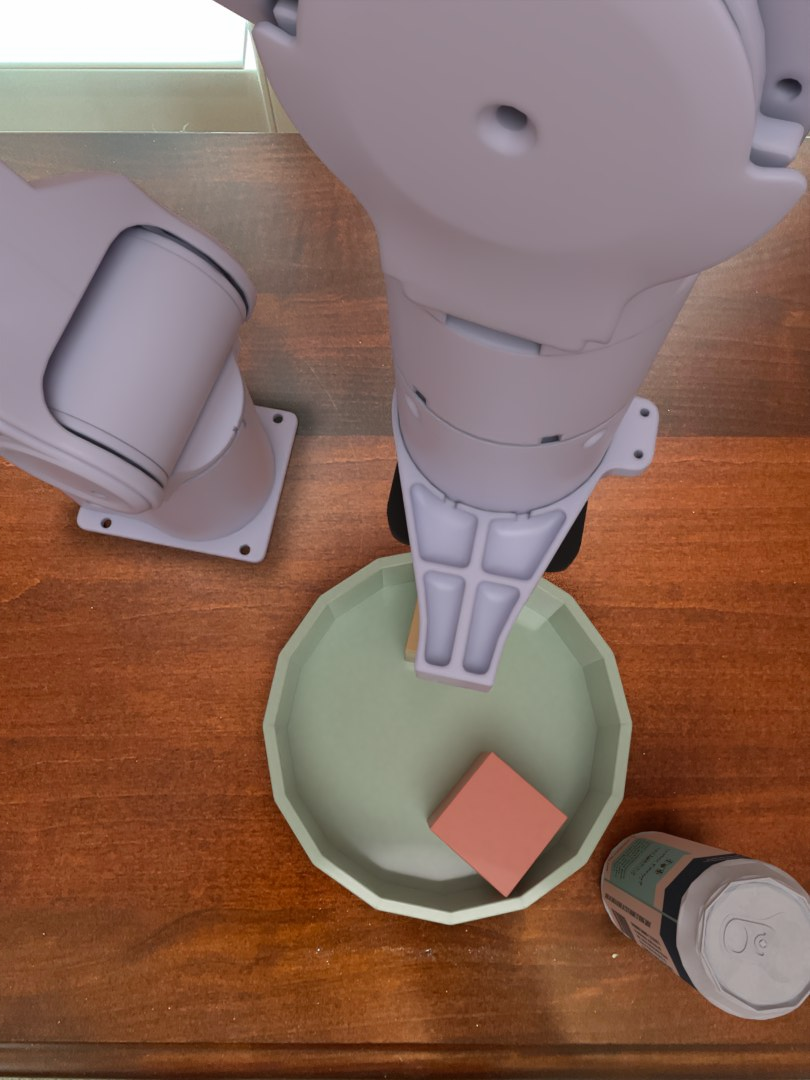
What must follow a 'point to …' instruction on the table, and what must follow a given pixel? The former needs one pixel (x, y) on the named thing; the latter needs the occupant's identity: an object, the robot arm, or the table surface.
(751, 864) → the beer can
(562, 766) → the dish
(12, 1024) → the table surface
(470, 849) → the block coral
